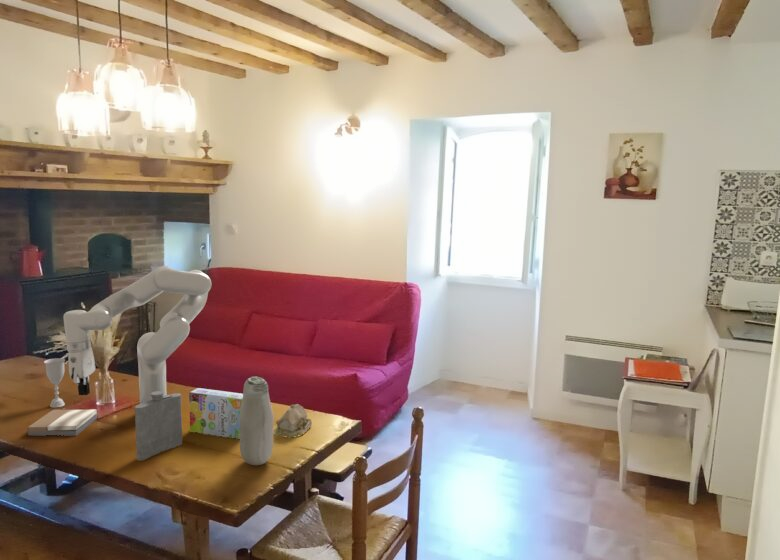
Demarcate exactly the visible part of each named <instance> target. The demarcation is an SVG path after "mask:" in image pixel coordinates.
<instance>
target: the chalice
mask: <svg viewBox="0 0 780 560" xmlns="http://www.w3.org/2000/svg"><path fill="white" fill-rule="evenodd" d="M65 361H66V359H64V358H59V357H58V358H49V359H47V360H44V361H43V363H44V364H45V373H46V376H47V378H48V380H49V381H50V383H51V384H52V385H54V388H53V390H54V393H53V394H54V395H55V397H54V399H52V400H51V402H50V405H49V407H50V408H52V409H53V408H54V409H56V408H60V407H63V406H65V405H66V403H65V402H64V400H63V398H60V397H59V394H60V391H59V384H60V383H61V381H62V379H63V377H64V375H65Z"/></svg>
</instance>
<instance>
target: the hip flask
mask: <svg viewBox="0 0 780 560" xmlns="http://www.w3.org/2000/svg"><path fill="white" fill-rule="evenodd" d="M162 395H163V392H162V391H155V392H152V393H151V396H152V400H149V401H146V402H144V403H141V404H140V403H139V404H136V405H135V406H134V417H135V420H134V421H135V446H136V448H135V449H136V460H137V461H138V462H140V461H141V460H142V461H146V460H148V459H149V457H150V458H152V457H154V456H155V454H156V455H158V454H160V452H161V453H163V452H165V450H166V451H168V450H171V449H174V448H177V447H176V446H178V447H180V445H181V446H182V445H183V421H182V420H183V418H182V394H181V393H178V392H177V393H170V394H167V395H164V396H162ZM173 447H174V448H173ZM170 448H171V449H170ZM162 451H163V452H162ZM153 455H154V456H153ZM151 456H152V457H151ZM147 458H148V459H147ZM145 459H146V460H145ZM142 461H141V462H142Z"/></svg>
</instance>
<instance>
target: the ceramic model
mask: <svg viewBox="0 0 780 560" xmlns="http://www.w3.org/2000/svg"><path fill="white" fill-rule="evenodd" d="M307 417H308V414H307V412H306V409H305V408H304V407H303V406H302V405H300V404H299V403H296V404H294V403H292V404H290V408H289V407H288V408H287V410H286V411H285V412H284V413H283V415H281V416H280V418H279V419H278V420H276V422H275V423H276V428H273V434H274V433H275V435H279V436H278V437H282V436H287V437H294V436H298V435H302V434H303V433H305V432H306V431H307V430H308V429H309V428H310V429H311V427H312V424H313V423H312V419H311V418H307ZM310 429H309V430H310ZM309 430H308V431H309ZM308 431H307V432H308ZM307 432H306V433H307ZM306 433H305V434H306ZM275 435H274V436H275ZM303 435H304V434H303ZM303 435H302V436H303ZM287 437H286V438H287Z"/></svg>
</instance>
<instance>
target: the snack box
mask: <svg viewBox="0 0 780 560" xmlns="http://www.w3.org/2000/svg"><path fill="white" fill-rule="evenodd" d="M242 400H243V393H241V392H240V393H239V392H232V391H224V390H218V389H216V390H215V389H209V388H208V389H207V388H203V387H202V388H201V387H197V388H195V389H193V390H192V391H189V432H190V431H192V432H191V433H195V432H198V433H197V434H202V433H204V434H203V435H208V434H211V435H210V436H214V435H217V436H216V437H220V436H222V437H221V438H227V437H229V438H228V439H233V438H236V439H235V440H239V439H240V432H239V414H240V409H241V404H242Z"/></svg>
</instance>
